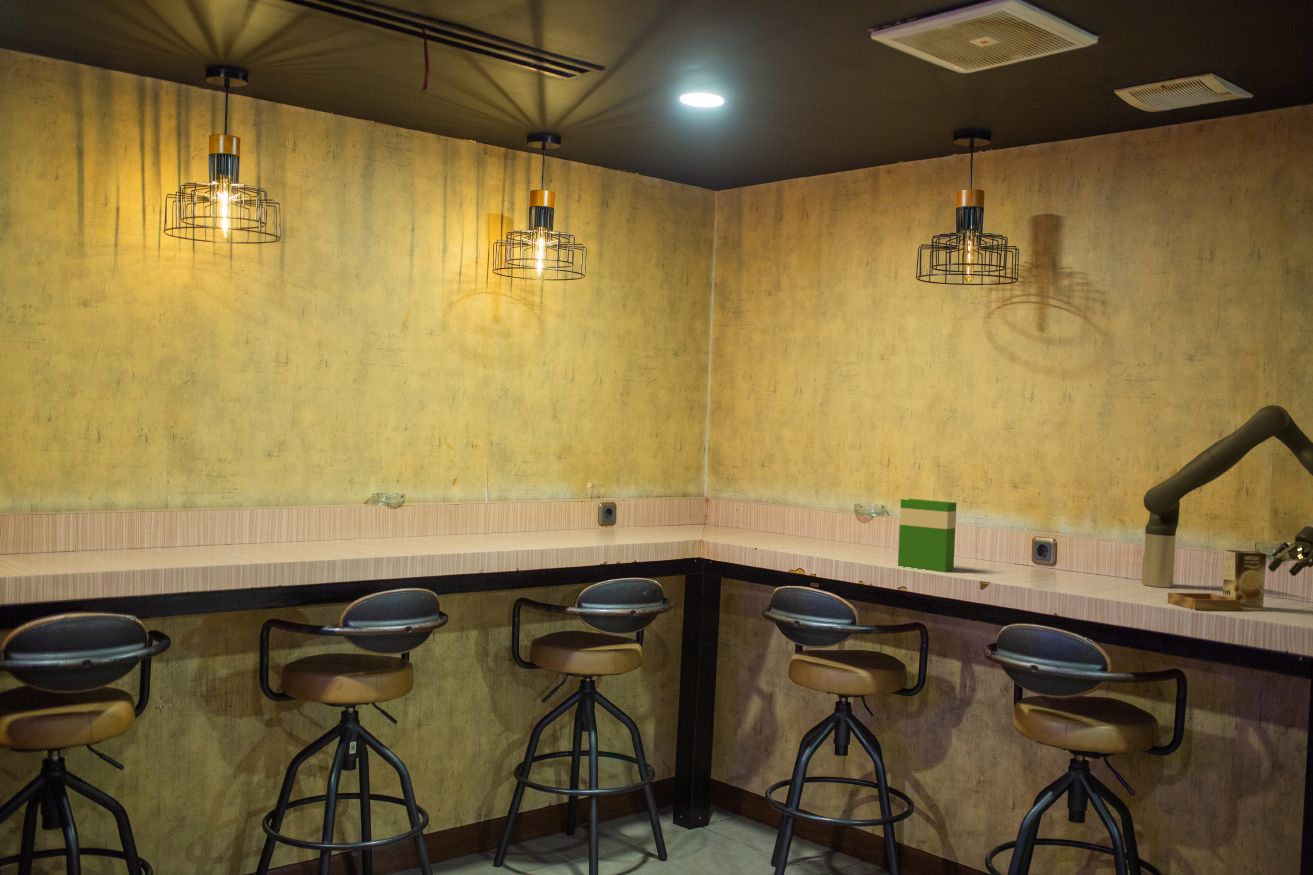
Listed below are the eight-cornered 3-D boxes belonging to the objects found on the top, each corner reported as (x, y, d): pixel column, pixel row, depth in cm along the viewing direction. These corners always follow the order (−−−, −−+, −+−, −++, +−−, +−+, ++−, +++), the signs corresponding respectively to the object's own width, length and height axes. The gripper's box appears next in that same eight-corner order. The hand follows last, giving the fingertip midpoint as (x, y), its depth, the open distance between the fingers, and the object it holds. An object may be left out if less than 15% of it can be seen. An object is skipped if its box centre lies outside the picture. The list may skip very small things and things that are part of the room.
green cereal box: (897, 566, 382) (900, 499, 382) (906, 564, 388) (909, 498, 387) (945, 572, 371) (948, 503, 371) (953, 570, 377) (956, 502, 377)
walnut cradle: (1167, 602, 322) (1168, 592, 322) (1210, 603, 324) (1211, 593, 324) (1194, 610, 309) (1195, 599, 309) (1239, 610, 312) (1239, 600, 312)
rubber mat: (1212, 602, 324) (1212, 601, 324) (1241, 603, 326) (1241, 601, 326) (1242, 610, 312) (1242, 609, 312) (1273, 611, 313) (1273, 609, 313)
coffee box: (1234, 606, 316) (1236, 552, 315) (1221, 602, 322) (1224, 549, 322) (1264, 607, 316) (1266, 553, 316) (1250, 603, 323) (1253, 550, 322)
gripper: (1291, 522, 329) (1256, 559, 327) (1327, 527, 315) (1291, 566, 313) (1305, 540, 330) (1270, 577, 328) (1342, 546, 316) (1306, 584, 314)
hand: (1280, 571), depth 321 cm, fingers open, 8 cm apart
